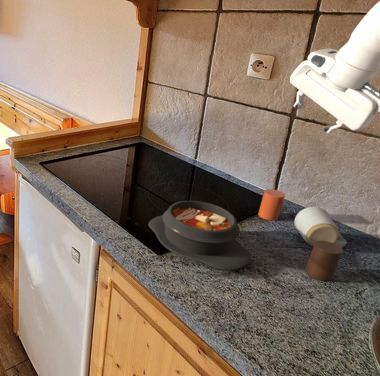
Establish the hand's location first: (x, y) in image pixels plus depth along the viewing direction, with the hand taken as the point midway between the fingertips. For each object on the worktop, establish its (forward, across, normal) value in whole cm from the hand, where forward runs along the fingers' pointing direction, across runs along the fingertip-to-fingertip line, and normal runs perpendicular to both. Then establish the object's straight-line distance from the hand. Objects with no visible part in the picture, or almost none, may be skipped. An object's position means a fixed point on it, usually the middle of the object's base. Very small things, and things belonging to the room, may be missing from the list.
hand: (311, 119), depth 100 cm
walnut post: (+14, -30, +20) cm, 38 cm away
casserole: (+20, -11, +36) cm, 43 cm away
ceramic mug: (+19, -22, +7) cm, 30 cm away
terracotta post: (+24, -10, +7) cm, 27 cm away
